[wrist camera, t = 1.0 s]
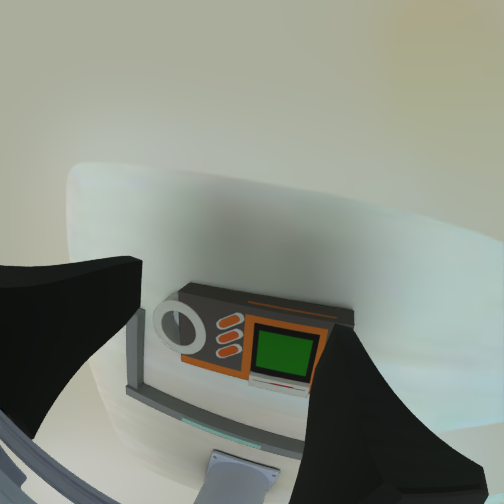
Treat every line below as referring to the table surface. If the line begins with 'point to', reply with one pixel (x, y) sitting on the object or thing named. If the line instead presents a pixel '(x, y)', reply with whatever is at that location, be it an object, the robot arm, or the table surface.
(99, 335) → the robot arm
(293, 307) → the electronic device
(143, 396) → the dock
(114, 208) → the table surface
